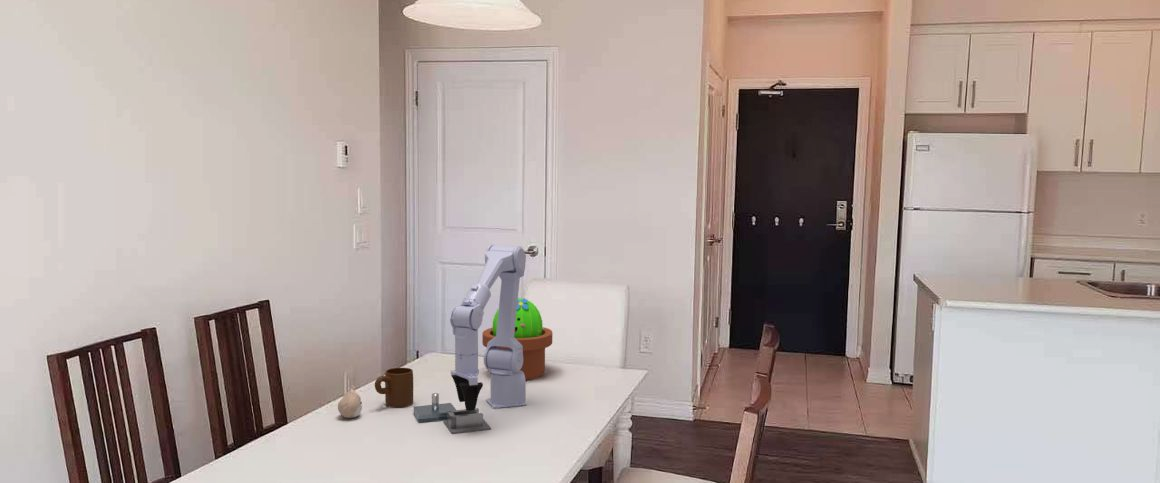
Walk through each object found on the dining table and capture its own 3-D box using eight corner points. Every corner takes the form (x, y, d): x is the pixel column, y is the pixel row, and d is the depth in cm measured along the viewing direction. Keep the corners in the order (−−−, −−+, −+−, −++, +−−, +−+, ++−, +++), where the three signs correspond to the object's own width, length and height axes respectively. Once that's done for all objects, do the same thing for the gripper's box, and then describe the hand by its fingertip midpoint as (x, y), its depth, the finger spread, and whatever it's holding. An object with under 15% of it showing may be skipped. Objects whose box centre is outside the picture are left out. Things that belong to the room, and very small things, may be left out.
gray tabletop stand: (477, 419, 205) (477, 408, 205) (482, 425, 200) (482, 414, 200) (446, 422, 202) (446, 411, 202) (451, 429, 197) (451, 417, 197)
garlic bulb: (368, 415, 208) (367, 386, 208) (350, 422, 203) (350, 392, 202) (349, 411, 211) (349, 382, 211) (331, 418, 206) (331, 388, 205)
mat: (481, 417, 208) (481, 416, 208) (491, 429, 199) (491, 427, 198) (443, 421, 204) (443, 420, 204) (451, 433, 195) (451, 432, 195)
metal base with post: (450, 410, 214) (450, 388, 213) (457, 418, 206) (457, 396, 206) (413, 413, 210) (413, 391, 210) (419, 423, 203) (418, 400, 202)
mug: (385, 413, 210) (384, 379, 209) (366, 408, 215) (366, 374, 214) (419, 403, 220) (419, 370, 219) (400, 398, 224) (400, 365, 223)
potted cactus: (492, 364, 264) (492, 289, 262) (557, 367, 261) (557, 292, 259) (474, 381, 243) (474, 300, 240) (545, 384, 240) (545, 303, 237)
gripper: (444, 348, 205) (445, 399, 206) (457, 361, 191) (457, 415, 193) (471, 345, 207) (471, 396, 209) (485, 358, 194) (486, 412, 195)
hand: (466, 405), depth 201 cm, fingers open, 7 cm apart
